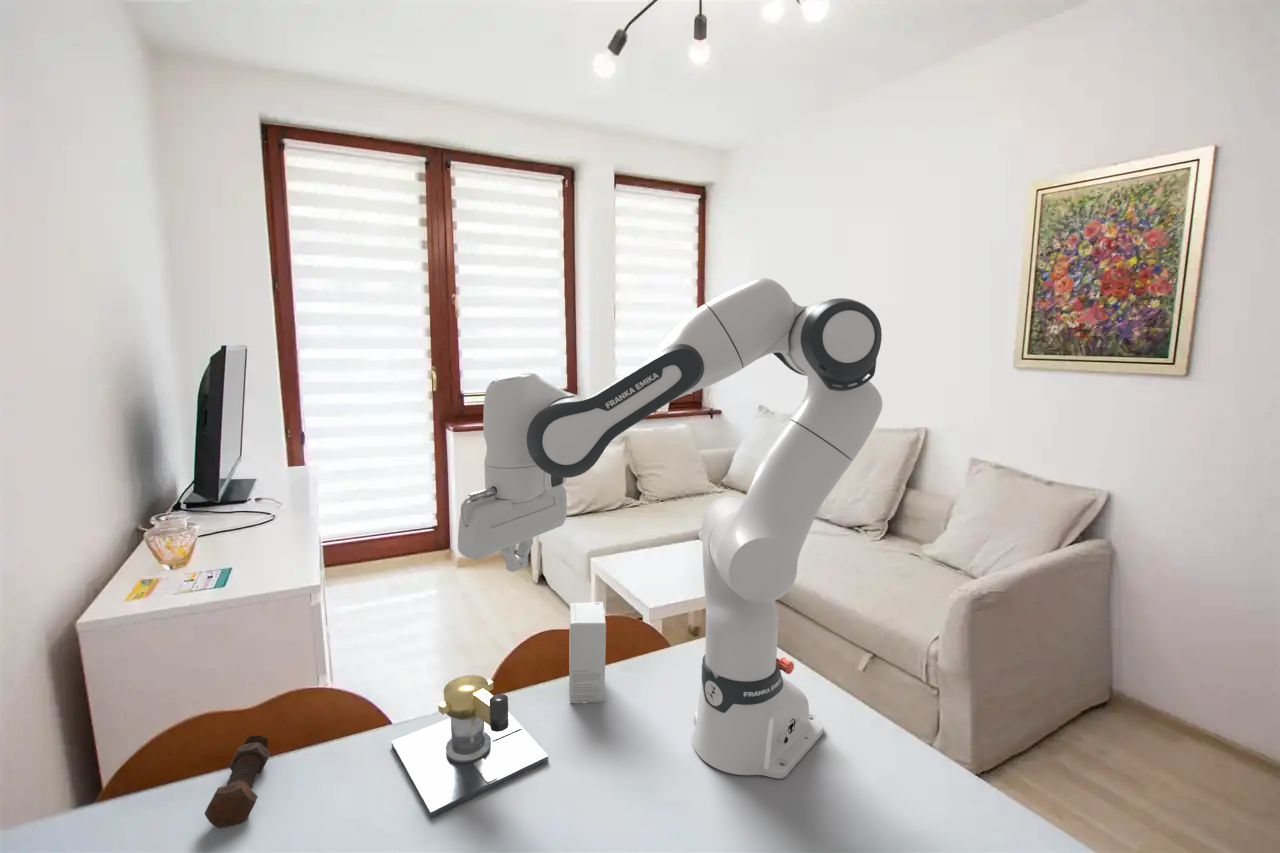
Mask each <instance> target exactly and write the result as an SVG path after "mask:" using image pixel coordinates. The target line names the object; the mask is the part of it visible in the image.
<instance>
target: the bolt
mask: <svg viewBox="0 0 1280 853" xmlns="http://www.w3.org/2000/svg"><path fill="white" fill-rule="evenodd" d="M268 746H269V739H268V737H267V736H263V735H250V736H248V737H247V739H246V740H245V742H244V744H243V745H240V746H239V747H238V749H237V750H236V752H235V754H234V756H233V758H232V759H231V762H230V763H229V766H228V767H229V769H230V770H231V774H230V775H229V779H228V780H227V783H226V785H224V786H219V787H217V789H216V791H215V793H214V794H213V796H212V798H211V800H210V801H209V804H208V806H207V807H206V810H205V812H204V816H205V817H206V819H207V821H208V822H209V823H210V824H211V825H212V826H214V827H216V828H228V827H231V826H237V825H239V824H242V823H244V822H246V821H247V819H248V817H249V816H250V814H251V813H252V810H253V808H254V807H255V804H256V803H257V799H258V795H257V794H256V793H255V792H254V791H253V790H252V788H253V785H254V783H255V780H256V778H257V775H259V774H261V773H262V771H263V770H264V767H265V765H266V764H267V762H268V760H269V757H270V755H271V754H270V752H269V750H268V749H267V748H268Z"/></svg>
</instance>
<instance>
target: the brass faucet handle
mask: <svg viewBox="0 0 1280 853" xmlns="http://www.w3.org/2000/svg"><path fill="white" fill-rule="evenodd" d="M493 690H494V681H493V680H490V679H489V678H488V679H486V678H485V677H483V676H480V675H475V674H469V675H463V676H459V677H457V678H454V679H453V680H451V681H450V680H449V682H448V683H447V684H446V685H445V686H444V688H443V701H441V702H440V703H438V704H437V705H438V712H439V713H440V714H441V715H445V714H446V715H447V716H448V717H449V718H450V717H452V718H457V719H465V718H471V717H474V716H477V717H479V718H480V719H481V720H483V721H484V722H485V723H487V724H488V725H489V726H490V729H491V730H492V731H494V732H502V731H504V730H506V729H507V728H508V726H509V718H508V712H509V696H508V695H506V694H503V693H499V694H498V693H496V694H494V695H493V694H491V693H490V691H493Z"/></svg>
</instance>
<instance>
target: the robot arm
mask: <svg viewBox="0 0 1280 853" xmlns="http://www.w3.org/2000/svg"><path fill="white" fill-rule="evenodd" d="M882 336H883V334H882V326H881V323H880V320H879V318H878V316H877V315H876V313H875V312H874V310H872V309H871V307H868V305H865V304H864V303H862V302H860V301H858V300H854V299H852V298H842V297H841V298H839V297H838V298H831V299H828V300H822V301H819V302H816V303H813V304H810V305H806V306H802V305H799V304H798V303H796V302H795V301H793V299H792V296H791V295H790V294H789V292H788V290H787V289H785V287H784V286H783V285H781V284H780V283H778V282H777V281H776V280H773V279H770V278H767V277H765V278H764V277H763V278H762V277H761V278H757V279H753V280H751V281H749V282H746V283H744V284H741V285H739V286H737V287H734V288H732V289H729V290H727V291H726V292H723V293H721V294H720V295H718V296H715V297H714V298H712V299H710V300H709V301H707V302H706V303H704V304H702V305H701V306H699V307H697V308H696V309H694V310H693V311H692V312H690V313H689V314H687V315H686V316H684V318H682V319H681V320H680V321H679V322H677V324H675V325H674V326H673V327H672V328H671V329H670V330H669V331H667V333H666V334H665V336H664V337H663V339H662V340H661V342H660V343H659V344H658V346H657V347H656V349H655V350H654V351H653V353H652V354H651V355H650V356H649V357H647V359H646V360H645V361H643V362H642V363H641V364H639V365H638V366H637V367H636V368H634V369H632V370H631V371H630V372H627V373H626V374H625V375H623V376H622V377H619V378H618V379H617V380H615V381H614V382H612V383H610V384H609V385H607V386H606V387H604V388H603V389H601V390H599V391H598V392H595V393H594V394H593V395H590V396H589V397H585V396H582V395H578V394H575V393H572V392H568V391H566V390H564V389H561V388H558V387H556V386H554V385H553V384H551V383H550V382H547V381H545V380H544V379H543V378H541V377H540V375H538V374H536V373H534V372H525V373H517V374H516V373H515V374H512V375H511V374H510V375H506V376H502V377H498V378H496V379H494V380H492V381H491V382H490V383H489V385H487V387H486V390H485V393H484V401H483V414H482V415H483V417H482V418H483V419H482V421H483V424H482V426H483V427H482V428H483V437H484V440H485V444H486V453H485V455H484V456H485V457H484V463H483V464H484V487H485V488H484V489H482V490H479V491H473V492H470V493H469V494H468V495H467V497H466V498H465V499H464V501H463V502H461V504H460V516H459V522H458V532H457V550H458V552H459V553H460V555H461V556H463V557H466V558H468V559H473V560H481V559H483V558H485V557H488V556H490V555H493V554H495V553H498V552H500V553H501V555H502V556H503V558H504V559H505V567H506V568H505V569H506V570H507V571H508V572H511V573H514V572H517V571H519V570H520V569H523V568H525V567H527V566H528V562H529V561H528V559H529V558H528V556H529V554H530V552H531V549H532V547H533V544H534V540H533V538H535V537H537V536H539V535H543V534H545V533H547V532H550V531H552V530H555V529H557V528H559V527H562V526H563V525H564V524H565V522H566V519H567V513H568V512H567V511H568V505H567V504H568V501H567V499H568V498H567V490H566V487H565V486H564V485H565V484H566V482H567V479H569V478H575V477H578V476H581V475H583V474H585V473H587V472H588V471H589V470H591V468H593V467H594V466H595V465H596V463H597V462H598V460H599V459H600V458H601V456H602V454H604V451H605V450H606V448H607V447H608V446H609V444H610V443H611V442H612V441H613V440H615V438H617V437H618V436H619V435H621V434H622V433H624V432H625V431H626V430H628V429H630V428H631V427H633V426H634V425H636V424H638V423H639V422H641V421H642V420H644V419H645V418H647V417H648V416H650V415H652V414H653V413H654V412H656V411H658V410H659V409H661V408H662V407H664V406H666V405H667V404H669V403H671V402H672V401H675V400H677V399H679V398H681V397H684V396H687V395H689V394H691V393H694V392H697V391H699V390H703V389H704V388H707V387H710V386H712V385H715V384H717V383H718V382H721V381H723V380H725V379H727V378H729V377H731V376H732V375H735V374H736V373H738V372H740V371H741V370H743V369H745V368H746V367H748V366H750V365H751V364H753V363H754V362H755V361H757V360H759V359H761V358H763V357H765V356H767V355H771V354H773V355H774V356H775V357H776V358H778V359H779V361H781V362H782V364H784V366H786V368H788V369H789V370H791V371H793V372H794V373H796V374H798V375H802V376H805V377H807V386H806V387H807V388H806V392H805V395H804V396H803V399H802V400H801V401H802V402H801V403H800V405H799V406H798V407H797V408H796V409H795V411H794V412H793V413H792V414H791V415H790V418H789V419H787V422H786V423H785V424H784V426H783V427H782V428H781V430H780V431H779V432H778V434H777V435H776V437H775V438H774V439H773V441H772V442H771V443H770V445H769V446H768V448H767V449H766V450H765V452H764V453H763V454H762V456H761V458H760V459H759V461H758V463H757V467H756V472H755V475H754V478H753V480H752V482H751V484H750V486H749V489H748V491H747V493H746V495H745V497H744V498H743V497H740V496H735V495H728V496H727V495H726V496H722V497H720V498H718V499H716V500H714V501H713V502H712V503H711V504H709V505H708V507H707V508H706V510H705V512H704V514H703V517H702V518H703V519H702V524H701V525H702V526H701V533H702V534H701V537H702V538H701V544H702V571H703V572H702V573H703V584H704V585H703V587H704V599H705V600H704V601H705V645H704V647H705V650H704V653H705V654H704V655H703V657H702V662H701V685H700V692H699V699H698V707H697V709H696V710H695V711H694V717H693V719H694V724H695V726H694V727H695V728H694V731H693V734H692V744H693V745H692V746H693V748H694V750H695V752H696V754H697V755H698V756H699V757H700V758H701V759H702V760H703V761H704V762H705V763H706V764H708V766H709V765H710V766H711V767H713V768H715V769H716V770H719V771H722V772H724V773H727V774H732V775H737V776H765V777H769V778H773V779H784V778H786V777H787V776H788V775H789V773H791V771H792V770H793V769H794V768H795V766H796V765H798V763H799V762H800V761H801V760H802V759H803V757H804V756H805V755H806V754H807V753H808V751H810V749H811V748H812V747H813V746H814V745H815V743H816V742H817V741H818V740H819V739H820V737H821V736H822V735H823V734H824V726H823V724H822V722H821V721H820V719H819V718H818V717H817V716H816V715H815V714H814V713H812V712H811V711H810V706H809V701H808V698H807V696H806V695H805V693H804V692H803V691H802V690H801V689H800V688H799V687H798V686H796V685H795V684H794V683H792V682H791V681H790V680H788V679H786V678H785V677H784V676H782V672H781V671H783V672H784V673H786V674H787V675H790V674H792V673H793V671H794V669H795V663H794V662H793V661H792V660H789V659H787V658H786V657H781V658H778V657H777V654H778V653H777V652H778V651H777V650H778V647H777V646H778V633H779V632H778V630H779V616H778V610H777V607H776V601H777V600H779V599H781V598H783V597H784V596H785V595H786V594H787V593H788V592H789V591H790V590H791V589H792V587H793V585H794V583H795V580H796V578H797V573H798V562H799V557H800V553H801V552H802V548H803V547H804V544H805V542H806V540H807V537H808V534H809V532H810V529H811V527H812V525H813V522H814V520H815V518H816V516H817V514H818V512H819V510H820V508H821V507H822V505H823V504H824V502H825V500H826V498H828V496H829V495H830V493H831V492H832V490H833V489H834V488H835V486H836V485H837V483H838V482H839V481H840V479H841V478H842V477H843V475H844V473H845V472H846V471H847V470H848V468H849V467H850V465H851V464H852V463H853V461H854V460H855V459H856V457H857V456H858V454H859V453H860V451H861V450H862V448H863V447H864V445H865V444H866V442H867V440H868V438H869V436H870V435H871V433H872V431H873V429H874V427H875V425H876V423H877V422H878V420H879V417H880V414H881V413H882V409H883V398H882V396H881V394H880V392H879V390H878V388H876V386H875V385H874V384H873V383H872V382H871V381H870V380H872V379H873V377H874V376H875V373H876V368H877V358H878V355H879V352H880V351H881V350H880V349H881V346H882V339H883V338H882ZM867 376H868V377H867ZM517 544H518V547H517ZM515 551H516V554H515Z"/></svg>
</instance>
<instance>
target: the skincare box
mask: <svg viewBox="0 0 1280 853" xmlns="http://www.w3.org/2000/svg"><path fill="white" fill-rule="evenodd" d="M569 605H570V606H569V607H570V608H569V646H568V647H569V650H568V652H569V656H568V658H569V660H568V661H569V662H568V663H569V664H568V666H569V672H568V673H569V704H570V703H577V704H587V703H586V702H594V703H604V702H605V685H606V684H605V680H606V679H605V678H606V649H607V648H606V644H607V642H606V641H607V638H606V637H607V636H606V635H607V623H606V610H605V607H604V602H603V601H596V602H595V601H593V602H592V601H591V602H590V601H589V602H570V604H569ZM583 702H585V703H583Z"/></svg>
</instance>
